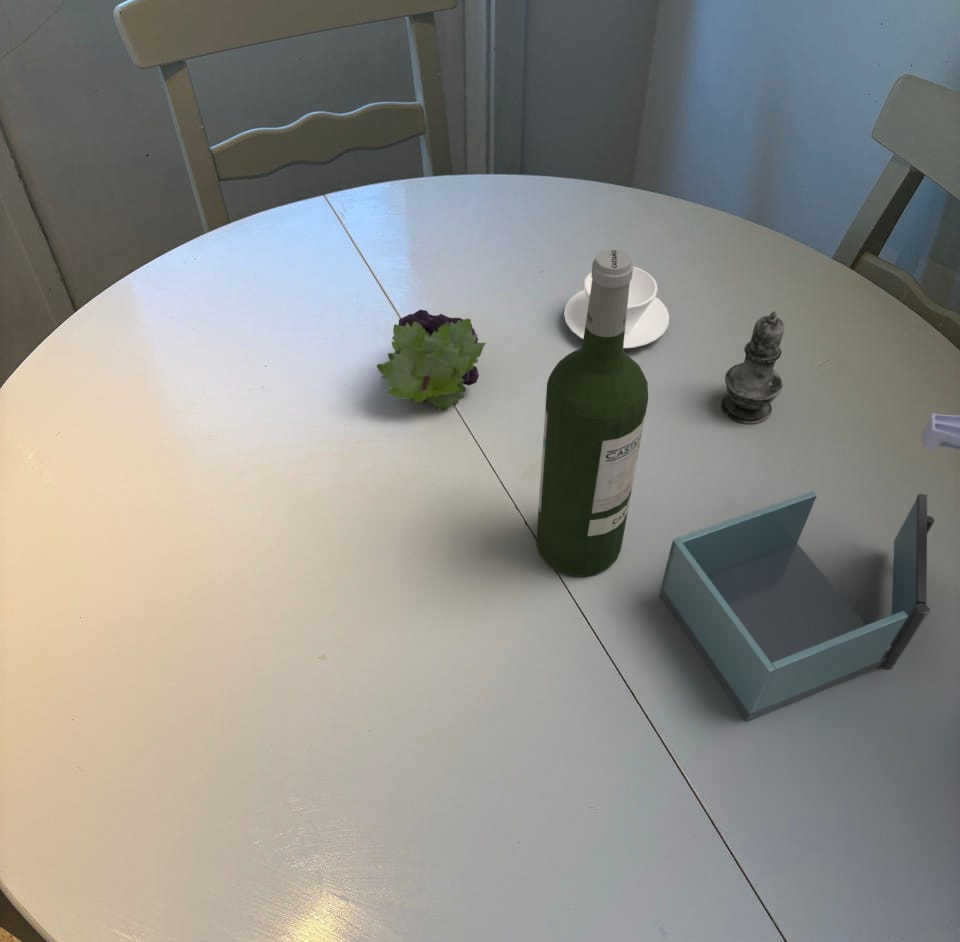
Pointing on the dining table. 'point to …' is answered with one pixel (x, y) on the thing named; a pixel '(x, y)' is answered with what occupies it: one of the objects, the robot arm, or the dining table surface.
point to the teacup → (643, 310)
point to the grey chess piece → (755, 374)
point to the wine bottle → (592, 433)
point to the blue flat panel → (911, 560)
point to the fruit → (432, 359)
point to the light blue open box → (772, 611)
